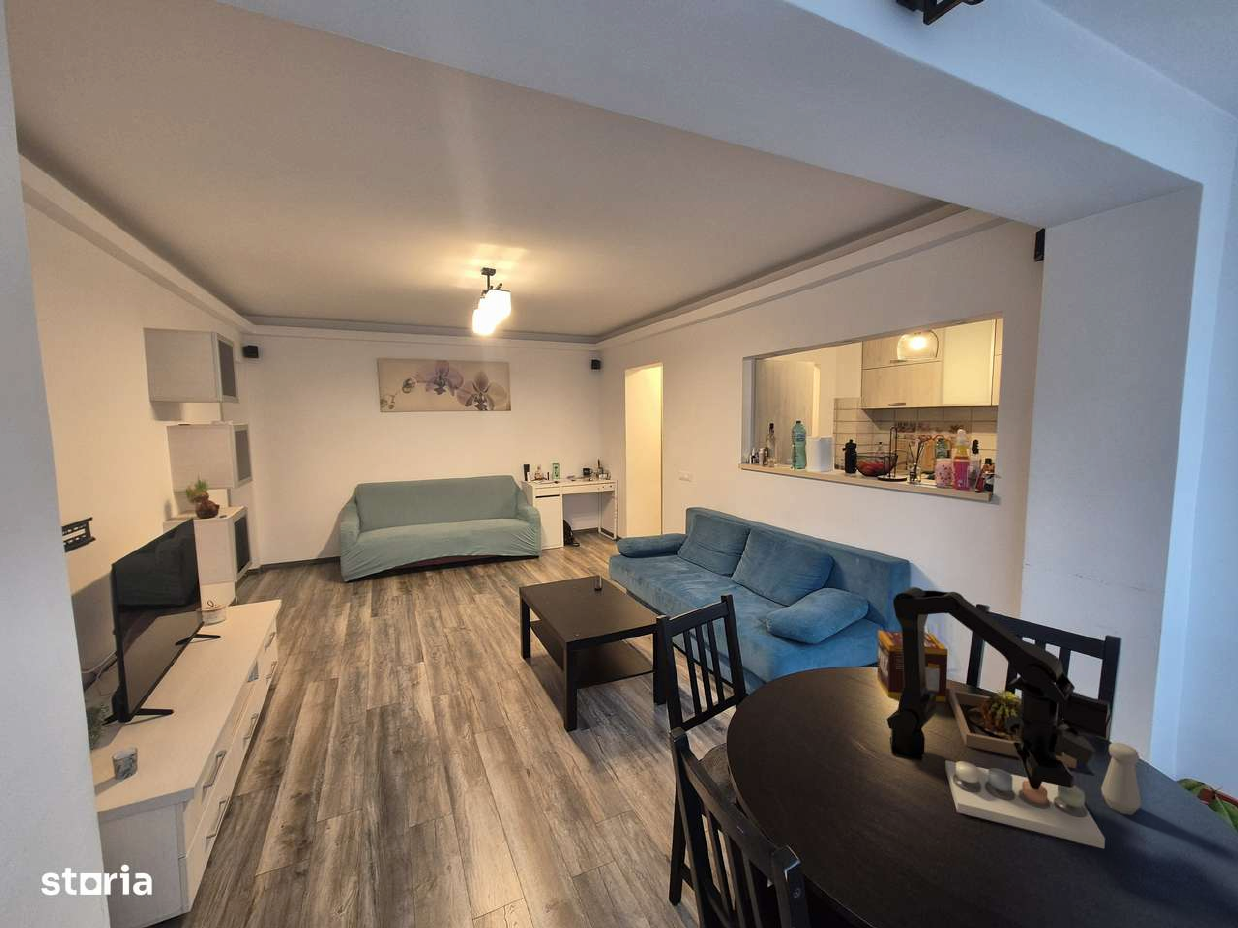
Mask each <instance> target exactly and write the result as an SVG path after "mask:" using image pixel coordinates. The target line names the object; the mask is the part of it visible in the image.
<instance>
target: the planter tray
mask: <svg viewBox="0 0 1238 928" xmlns="http://www.w3.org/2000/svg"><path fill="white" fill-rule="evenodd" d="M948 697H949V698H948V702H949V703H950V706H951V709H952V712H953V714H954V716H955V720H956V723H957V725H958V728H959V731H960V733H961V737H962V739H963V742H964V745H965V747H968V748H973V749H979V750H983V751H988V752H993V753H998V754H1003V755H1007V756H1012V757H1016V758H1017V757H1018V758H1019V756H1018V754H1017V751H1016V749H1015V746H1014V744H1013V743H1014V742H1013V741H1009V740H1007V739H1006V740H1005V739H1004V738H998V737H992V736H989V735H988V736H986V735H982V734H977V733H973V732H971V731H970V729H969V726H968V724H967V720H966V718H965V715H964V713H963V711H962V708H961V705H966V706H973V707H976V708H977V707H981V704H980V703H983V702H984V700H987V699H986V697H987V698H988V697H990V696H987V695H981V694H975V693H972V692H965V691H959V690H952V689H949V696H948ZM992 697H993V698H994V697H995V696H992ZM960 704H961V705H960ZM1020 704H1021V701H1020ZM1020 704H1019V705H1020ZM1017 743H1018V742H1017ZM1055 756H1056V758H1057V759H1058V760H1061V761H1062V762H1063V763H1064V764H1065V765H1066V766H1067V768H1070V769H1075V768H1076V769H1077V762H1078V760H1077V759H1075V758H1072V757H1070V756H1068V755H1066V754H1064V753H1063V752H1062V756H1058V755H1055Z"/></svg>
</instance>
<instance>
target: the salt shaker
mask: <svg viewBox="0 0 1238 928" xmlns="http://www.w3.org/2000/svg"><path fill="white" fill-rule="evenodd" d="M1108 753H1109V754H1110V756H1111V759H1110V761H1109V765H1108V768H1107V771H1106V773H1105V777H1104V780H1103V783H1102V785H1101V787H1100V788H1101V789H1100V790H1101V794H1102V797H1103V798H1104V800H1105V802H1106V804H1107V805H1108V806H1109V808H1110V809H1112V810H1114V811H1116V812H1118V813H1120V814H1123V815H1129V816H1131V815H1132V816H1133V815H1134V813H1136V812H1137V811H1138V809H1140V808H1141V806H1142V800H1141V794H1140V789H1139V785H1138V777H1137V774H1136V773H1137V772H1136V767H1135V764H1138V762H1139V760H1140V756H1139V752H1138V751H1137V750H1136V749H1135V748H1133V747H1132V746H1130V745H1127V744H1125V743H1121V742H1112V743H1110V744H1109V746H1108Z"/></svg>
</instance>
